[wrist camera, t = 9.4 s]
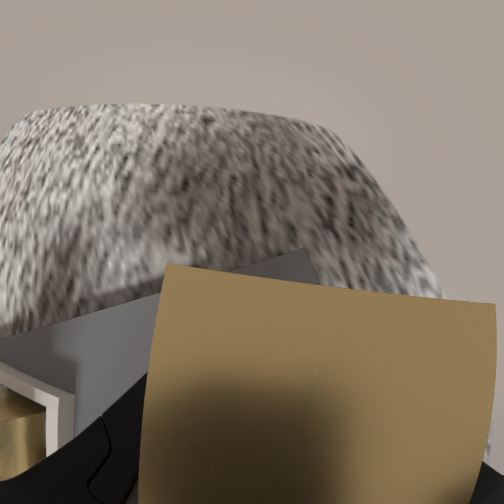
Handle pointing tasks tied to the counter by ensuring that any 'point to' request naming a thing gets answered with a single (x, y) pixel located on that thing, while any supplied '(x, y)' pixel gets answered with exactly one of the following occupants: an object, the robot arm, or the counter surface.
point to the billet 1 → (20, 434)
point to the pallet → (101, 354)
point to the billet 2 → (313, 394)
